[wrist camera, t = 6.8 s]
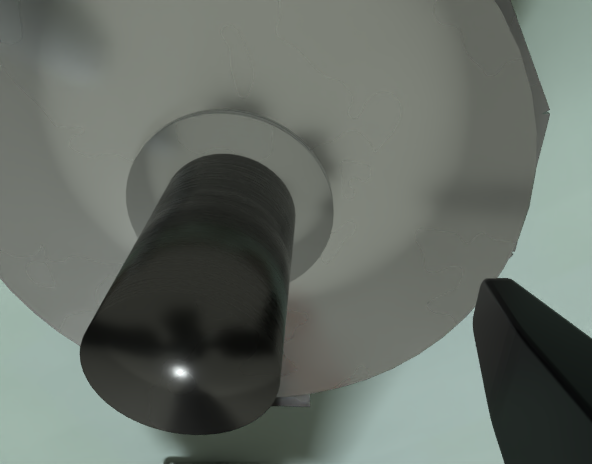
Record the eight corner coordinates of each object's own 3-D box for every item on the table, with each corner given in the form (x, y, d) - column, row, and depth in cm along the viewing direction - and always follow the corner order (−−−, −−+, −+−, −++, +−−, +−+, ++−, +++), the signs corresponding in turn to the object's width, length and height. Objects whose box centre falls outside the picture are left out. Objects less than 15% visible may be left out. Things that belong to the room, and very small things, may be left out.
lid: (471, 379, 15) (537, 591, 10) (53, 371, 15) (-60, 567, 11) (603, -174, 8) (998, -286, 3) (-169, -138, 8) (-740, -189, 4)
